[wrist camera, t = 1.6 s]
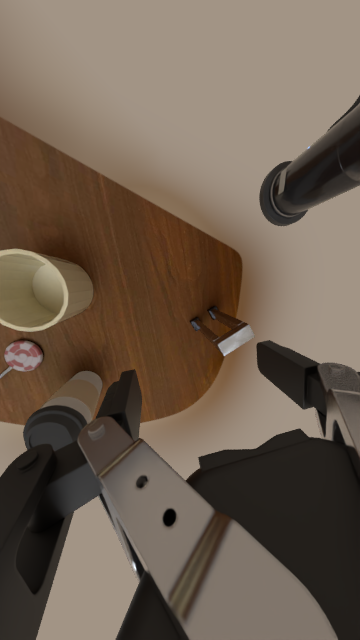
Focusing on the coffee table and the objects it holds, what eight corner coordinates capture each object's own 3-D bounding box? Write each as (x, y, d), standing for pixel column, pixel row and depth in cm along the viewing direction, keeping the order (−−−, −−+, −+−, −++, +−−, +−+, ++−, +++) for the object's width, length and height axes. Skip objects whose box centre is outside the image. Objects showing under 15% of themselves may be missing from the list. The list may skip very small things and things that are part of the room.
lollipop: (-36, 383, 34) (20, 335, 34) (-31, 380, 35) (24, 333, 35) (-6, 403, 36) (47, 357, 36) (-2, 400, 37) (50, 355, 37)
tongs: (194, 329, 41) (220, 359, 25) (189, 321, 40) (212, 346, 24) (219, 314, 41) (259, 334, 25) (214, 305, 40) (253, 320, 25)
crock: (44, 248, 32) (-9, 231, 22) (102, 277, 35) (80, 275, 24) (23, 300, 34) (-37, 309, 23) (80, 325, 36) (50, 343, 26)
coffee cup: (71, 405, 40) (25, 476, 26) (59, 371, 38) (1, 426, 23) (111, 397, 41) (89, 460, 27) (102, 362, 39) (72, 411, 24)
